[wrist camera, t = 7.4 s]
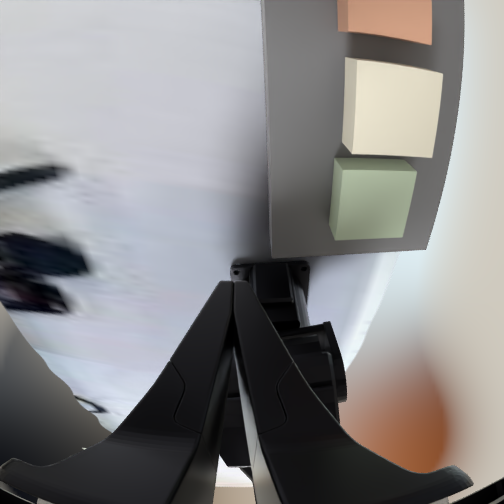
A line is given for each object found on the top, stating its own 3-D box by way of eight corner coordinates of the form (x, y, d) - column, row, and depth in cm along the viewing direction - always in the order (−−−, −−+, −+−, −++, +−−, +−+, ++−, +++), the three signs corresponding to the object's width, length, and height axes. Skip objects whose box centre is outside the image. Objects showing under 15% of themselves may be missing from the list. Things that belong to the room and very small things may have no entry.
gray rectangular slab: (411, 227, 24) (425, 249, 22) (269, 233, 24) (272, 258, 22) (436, -40, 11) (460, -45, 8) (256, -69, 11) (258, -86, 8)
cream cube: (396, 130, 18) (431, 157, 14) (328, 127, 18) (352, 154, 14) (401, 62, 15) (443, 73, 11) (330, 54, 15) (357, 59, 11)
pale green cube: (378, 201, 22) (402, 237, 19) (319, 202, 22) (335, 240, 19) (386, 143, 20) (416, 171, 16) (323, 141, 20) (342, 169, 16)
